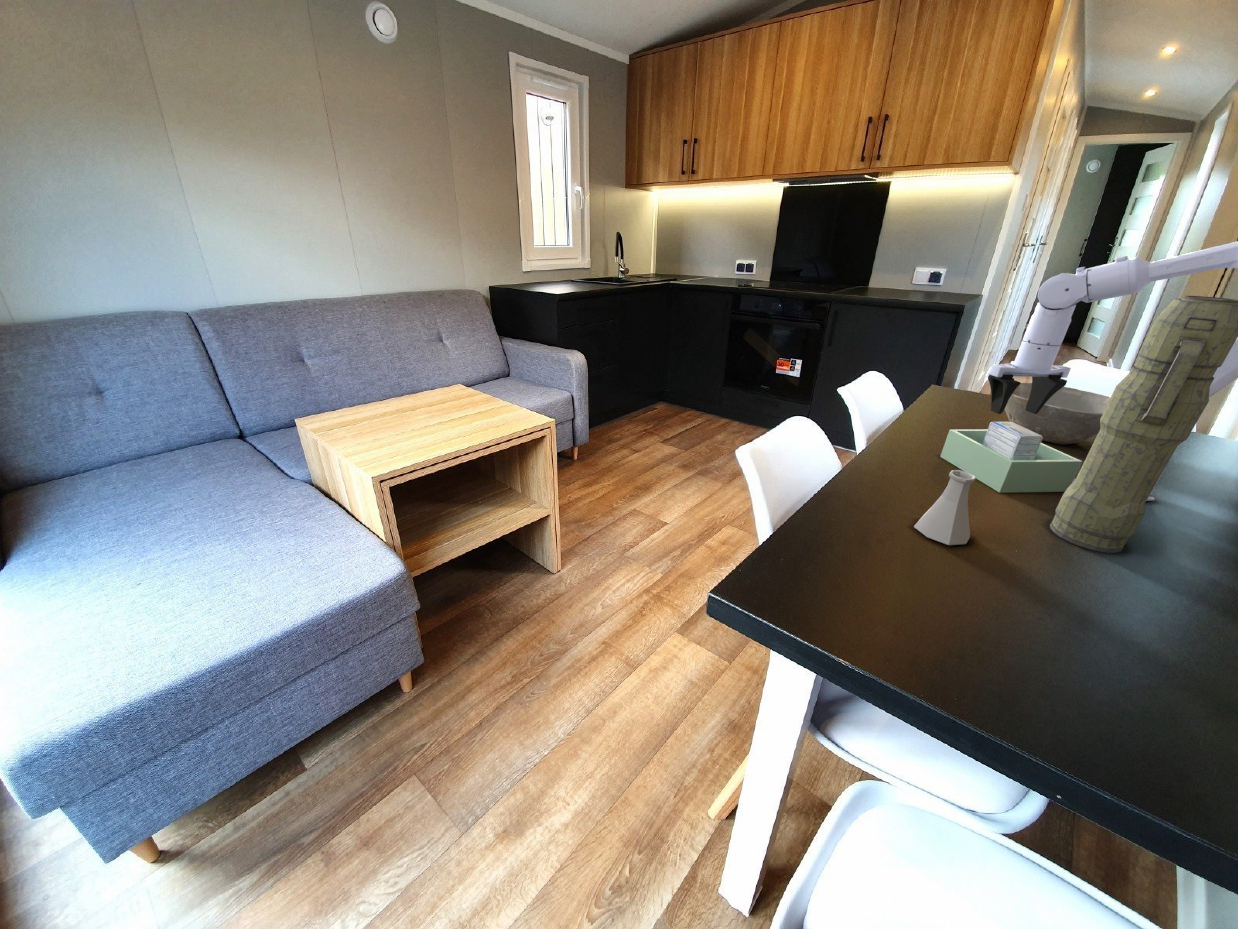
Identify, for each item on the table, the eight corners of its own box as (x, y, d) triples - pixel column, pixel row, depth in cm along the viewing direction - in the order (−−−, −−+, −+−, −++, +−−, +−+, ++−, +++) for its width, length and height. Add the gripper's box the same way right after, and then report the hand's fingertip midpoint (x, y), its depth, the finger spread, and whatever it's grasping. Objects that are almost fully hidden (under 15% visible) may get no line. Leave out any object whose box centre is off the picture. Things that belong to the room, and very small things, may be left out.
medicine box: (1026, 479, 92) (1045, 436, 88) (1003, 478, 91) (1021, 435, 88) (996, 461, 99) (1012, 421, 95) (975, 461, 99) (990, 420, 95)
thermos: (1051, 543, 73) (1173, 298, 58) (1046, 511, 82) (1151, 291, 67) (1131, 566, 68) (1286, 306, 53) (1117, 530, 77) (1246, 297, 62)
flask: (950, 551, 70) (974, 490, 66) (904, 526, 76) (923, 468, 72) (979, 539, 73) (1004, 480, 69) (932, 516, 79) (952, 460, 75)
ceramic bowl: (987, 414, 128) (1001, 377, 124) (1103, 435, 116) (1123, 395, 112) (984, 439, 112) (1000, 397, 107) (1119, 466, 100) (1143, 420, 96)
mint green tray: (1000, 456, 103) (1010, 429, 100) (1068, 491, 89) (1082, 461, 86) (940, 456, 102) (949, 429, 99) (999, 492, 88) (1012, 462, 85)
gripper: (1057, 339, 95) (1029, 405, 101) (988, 337, 94) (964, 405, 99) (1092, 346, 89) (1060, 417, 95) (1019, 345, 87) (991, 417, 93)
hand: (1013, 412), depth 97 cm, fingers open, 7 cm apart
